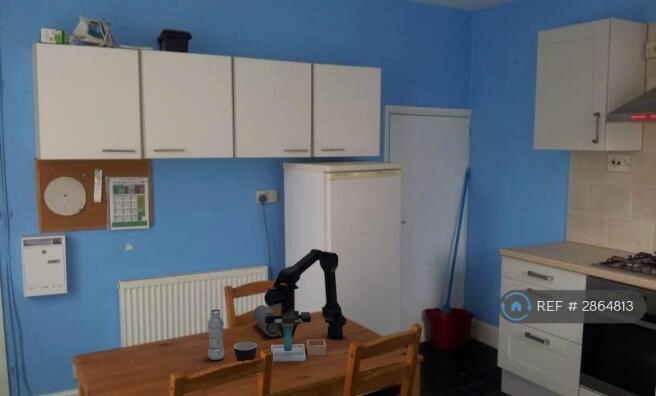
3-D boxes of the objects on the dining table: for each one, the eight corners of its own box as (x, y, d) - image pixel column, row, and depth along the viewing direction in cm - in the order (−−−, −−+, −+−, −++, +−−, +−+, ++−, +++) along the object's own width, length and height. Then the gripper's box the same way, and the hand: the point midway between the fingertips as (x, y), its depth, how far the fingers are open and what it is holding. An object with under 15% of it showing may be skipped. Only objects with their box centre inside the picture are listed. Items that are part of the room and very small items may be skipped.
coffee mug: (252, 376, 202) (252, 350, 202) (230, 374, 204) (230, 349, 203) (262, 364, 214) (262, 340, 213) (241, 363, 216) (241, 338, 215)
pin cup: (324, 348, 232) (324, 339, 231) (326, 355, 224) (326, 345, 224) (306, 349, 231) (306, 339, 231) (307, 355, 223) (307, 346, 223)
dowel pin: (292, 348, 226) (291, 324, 225) (292, 351, 223) (292, 327, 222) (283, 348, 226) (283, 324, 225) (283, 351, 222) (283, 327, 221)
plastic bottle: (227, 356, 222) (226, 309, 220) (218, 363, 215) (218, 313, 214) (213, 354, 224) (212, 307, 222) (204, 360, 218) (203, 312, 216)
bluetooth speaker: (251, 325, 262) (251, 305, 261) (270, 323, 266) (270, 303, 265) (263, 340, 241) (263, 318, 240) (283, 338, 244) (283, 316, 244)
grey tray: (303, 348, 232) (303, 344, 232) (305, 360, 218) (305, 356, 218) (271, 349, 231) (270, 345, 230) (270, 361, 217) (270, 357, 217)
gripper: (264, 307, 213) (264, 345, 215) (311, 305, 215) (311, 344, 217) (265, 299, 225) (265, 336, 226) (310, 298, 226) (310, 334, 228)
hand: (287, 337), depth 224 cm, fingers closed on dowel pin, 3 cm apart
